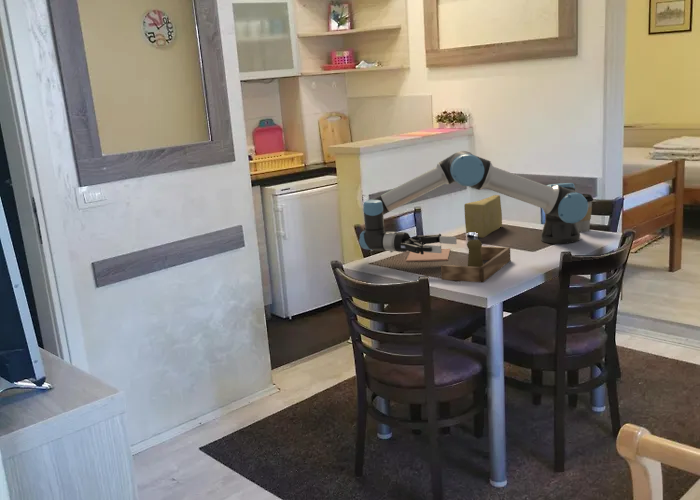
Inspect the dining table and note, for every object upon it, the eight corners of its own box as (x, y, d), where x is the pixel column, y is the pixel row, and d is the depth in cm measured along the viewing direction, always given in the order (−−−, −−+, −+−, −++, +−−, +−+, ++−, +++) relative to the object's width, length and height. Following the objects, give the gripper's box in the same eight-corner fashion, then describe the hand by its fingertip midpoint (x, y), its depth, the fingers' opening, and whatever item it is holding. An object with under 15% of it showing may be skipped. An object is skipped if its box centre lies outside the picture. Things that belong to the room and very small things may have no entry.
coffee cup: (595, 232, 285) (594, 196, 281) (571, 233, 287) (570, 198, 284) (591, 227, 294) (591, 192, 290) (569, 228, 296) (568, 194, 292)
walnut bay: (441, 279, 240) (440, 265, 239) (472, 258, 263) (471, 245, 262) (482, 282, 232) (482, 268, 231) (510, 260, 255) (510, 247, 254)
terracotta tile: (450, 249, 279) (450, 248, 278) (447, 260, 263) (447, 258, 263) (411, 251, 282) (411, 249, 282) (406, 261, 267) (406, 260, 267)
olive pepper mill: (465, 268, 250) (463, 239, 248) (481, 266, 251) (480, 237, 248) (469, 272, 245) (468, 242, 242) (486, 270, 245) (484, 241, 242)
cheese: (491, 225, 315) (490, 193, 311) (510, 227, 308) (509, 194, 305) (465, 236, 299) (463, 202, 296) (484, 238, 293) (482, 203, 289)
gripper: (412, 243, 273) (462, 246, 262) (382, 259, 253) (434, 263, 241) (411, 225, 271) (461, 227, 260) (380, 239, 251) (433, 242, 240)
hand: (448, 244), depth 251 cm, fingers open, 13 cm apart
